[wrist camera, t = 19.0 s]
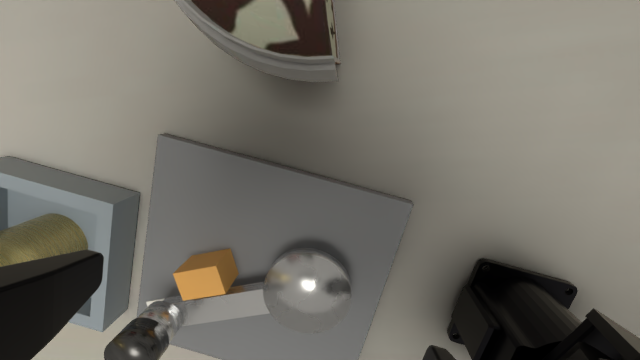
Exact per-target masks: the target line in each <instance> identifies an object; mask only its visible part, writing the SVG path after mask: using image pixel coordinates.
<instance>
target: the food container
mask: <svg viewBox="0 0 640 360" xmlns="http://www.w3.org/2000/svg"><path fill="white" fill-rule="evenodd" d="M174 1H175V2H176V3H177V5H178V6H179V7H180V8H181V10H182V11H183V12H184V13H185V14H186V15H187V17H188V18H189V19H190V20H191V21H192V22H193V23H194V24H195V26H196V27H197V28H198V29H199V30H200V31H201V32H203V33H204V34H205V35H206V36H207V37H208V38H209V39H210V40H211V41H212V42H213V43H215V44H216V45H217V46H218V47H219V48H221V49H222V50H224V51H225V52H227V53H228V54H230V55H231V56H233V57H234V58H236V59H237V60H239V61H240V62H242V63H244V64H246V65H249V66H251V67H253V68H255V69H257V70H259V71H262V72H264V73H267V74H271V75H275V76H278V77H282V78H285V79H289V80H299V81H308V82H328V81H338V76H337V71H336V67H335V64H341V63H340V54H339V44H338V34H337V24H336V15H335V5H334V0H174Z"/></svg>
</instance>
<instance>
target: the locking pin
mask: <svg viewBox="0 0 640 360" xmlns="http://www.w3.org/2000/svg"><path fill="white" fill-rule="evenodd" d="M81 250H88V242H87V239H86V236H85V234H84V232H83V231H82V229H81V228H80V227H79V226H78V225H77V224H76V223H75V222H74V221H73V220H71V219H70V218H68V217H66V216H64V215H61V214H55V213H49V214H45V215H42V216H39V217H36V218H34V219H31V220H28V221H26V222H23V223H20V224H18V225H15V226H12V227H9V228H7V229H4V230H1V231H0V267H2V266H7V265H12V264H17V263H22V262H26V261H31V260H36V259H41V258H46V257H51V256H56V255H61V254H66V253H71V252H76V251H81Z"/></svg>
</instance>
